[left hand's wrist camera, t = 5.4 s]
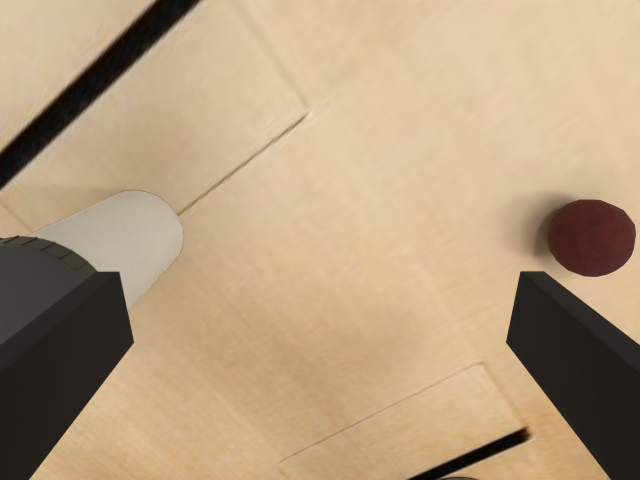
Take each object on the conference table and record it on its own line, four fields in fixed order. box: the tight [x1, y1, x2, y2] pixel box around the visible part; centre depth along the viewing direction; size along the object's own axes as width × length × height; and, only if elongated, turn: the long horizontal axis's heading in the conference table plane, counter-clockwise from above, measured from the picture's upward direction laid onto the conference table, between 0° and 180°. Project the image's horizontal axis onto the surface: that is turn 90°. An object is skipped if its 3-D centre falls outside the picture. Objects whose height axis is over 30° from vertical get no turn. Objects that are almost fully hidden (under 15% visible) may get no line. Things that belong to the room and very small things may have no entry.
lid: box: [0, 235, 97, 345], centre depth 26 cm, size 10×10×2 cm
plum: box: [548, 200, 636, 277], centre depth 38 cm, size 7×8×7 cm
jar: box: [25, 190, 184, 311], centre depth 33 cm, size 9×9×17 cm
